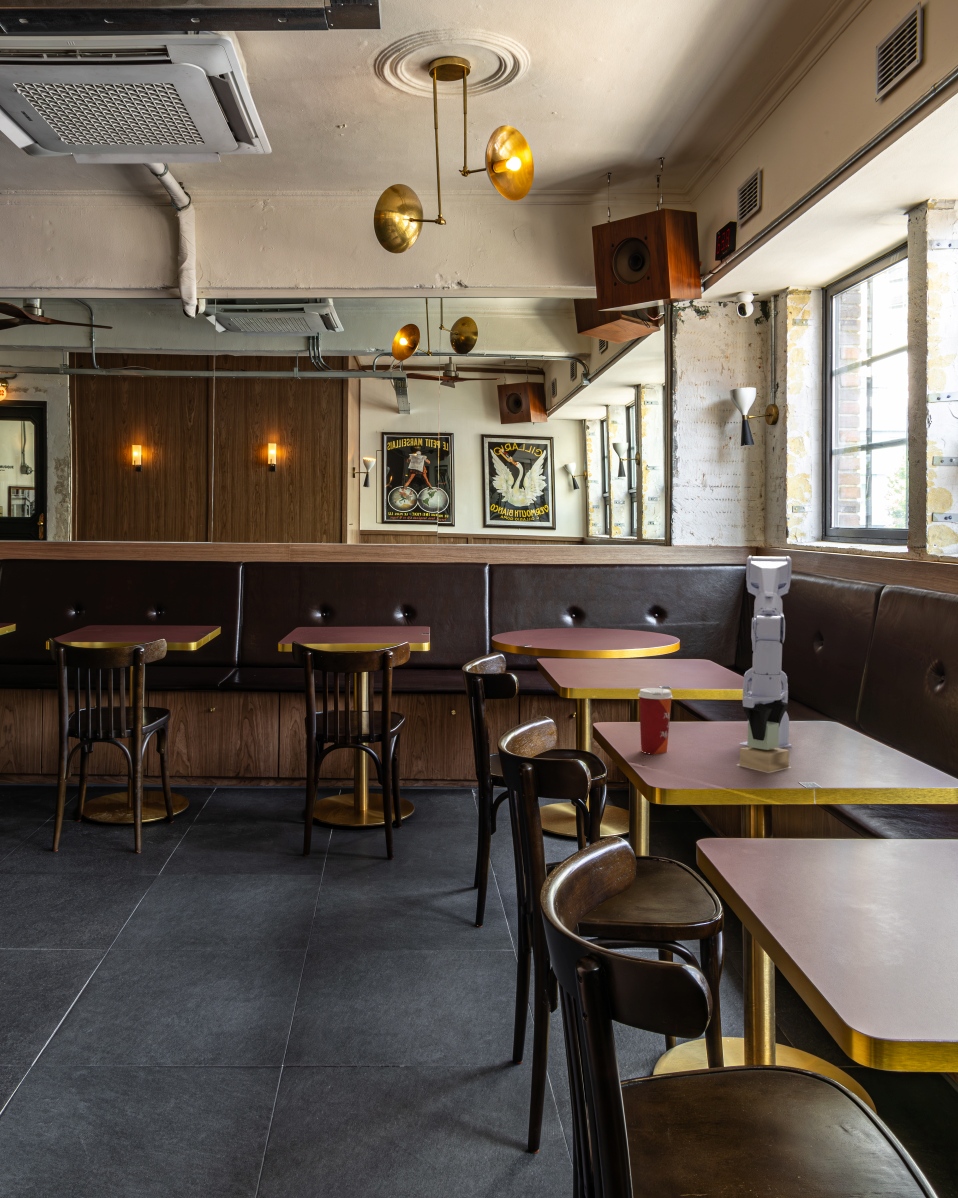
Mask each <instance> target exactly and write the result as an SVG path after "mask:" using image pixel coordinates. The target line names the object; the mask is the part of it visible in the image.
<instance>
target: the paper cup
mask: <svg viewBox="0 0 958 1198" xmlns="http://www.w3.org/2000/svg"><path fill="white" fill-rule="evenodd" d="M637 697H638V699H639V700H638V701H639V703H638V704H639V728H640V732H639V733H640V750H642V751H643V752H646V753H650V754H656V755H659V754H665V753H667V751H668V745H669V733H670V731H669V730H670V718H671V706H672V698H674V696H673V695H672V691H671V690H670V689H667V688H661V687H660V688H658V687H645V688H640V689H639V693H638V694H637ZM642 751H641V752H642Z"/></svg>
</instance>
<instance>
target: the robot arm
mask: <svg viewBox="0 0 958 1198" xmlns="http://www.w3.org/2000/svg"><path fill="white" fill-rule="evenodd" d="M792 561H793V560H792V557H790V556H789V555H786V556H762V555H761V556H759V555H758V556H754V555H753V556H752V555H748V557H746V571H745V574H746V575H745V580H746V588H747V592H748V593H750V594H751V595H753V596H755V599H754V605H753V607H754V609H753V617H752V618H751V634H750V635H751V636H750V637H751V643H752V646H751V647H752V648H751V649H752V651H753V653H752V667H751V668H749V669H748V670H746V671H745V673H744V674H743V682H742V710H743V712H744V713H745V715H746V717H747V724H748V723H750V727H751V732H752V736H753V739H755V740H761V741H762V740H764V737H765V731H766V724H767V721H769V722H775V723H779V744H778V747H776V748H780V749H783V748H785V747H786V748H790V747H792V743H789V736H790V734H789V733H790V717H789V715H788V713H787V710H788V709H789V703H788V700H789V688H788V687H789V684H788V676H787V673H785V672H784V671H783V670H782V666H783V665H782V662H783V660H782V659H783V643H784V642H785V638H786V620H785V619H786V618H785V615H784V612H783V599H782V596H784V595H787V594H788V593H789V589H790V588H791V587H790V586H791V582H792V581H791V580H792V565H793V564H792ZM781 640H782V643H781ZM746 739H747V741H742V742H739V743H738V744H739V745H741V746H746V747H748V733H747V737H746Z"/></svg>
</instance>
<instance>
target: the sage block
mask: <svg viewBox="0 0 958 1198" xmlns="http://www.w3.org/2000/svg"><path fill="white" fill-rule="evenodd" d="M747 734H748V746H747V747H753V748H759V749H764V750H769V749H773V748H776V747H778V744H779V723H775V722H769V721H767V724H766V731H765V737H764V740H762V741H761V740H755V739H753V736H752V732H751V727H750V723H748V722H747Z"/></svg>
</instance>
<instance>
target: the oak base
mask: <svg viewBox="0 0 958 1198" xmlns="http://www.w3.org/2000/svg"><path fill="white" fill-rule="evenodd" d="M789 762H790V750H789V749H783V748H773V749H769V750H764V749H759V748H753V747H748V746H746V747H740V748H739V764H740V765H742V766H746V767H750V768H754V769H758V770H762V771H766V772H771V771H775V770H779V769H783V768H787V767H790V766H789V765H790V763H789ZM742 766H741V767H742ZM746 767H745V768H746ZM750 768H749V769H750ZM754 769H753V770H754ZM758 770H757V771H758ZM762 771H761V772H762ZM766 772H765V773H766Z"/></svg>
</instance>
